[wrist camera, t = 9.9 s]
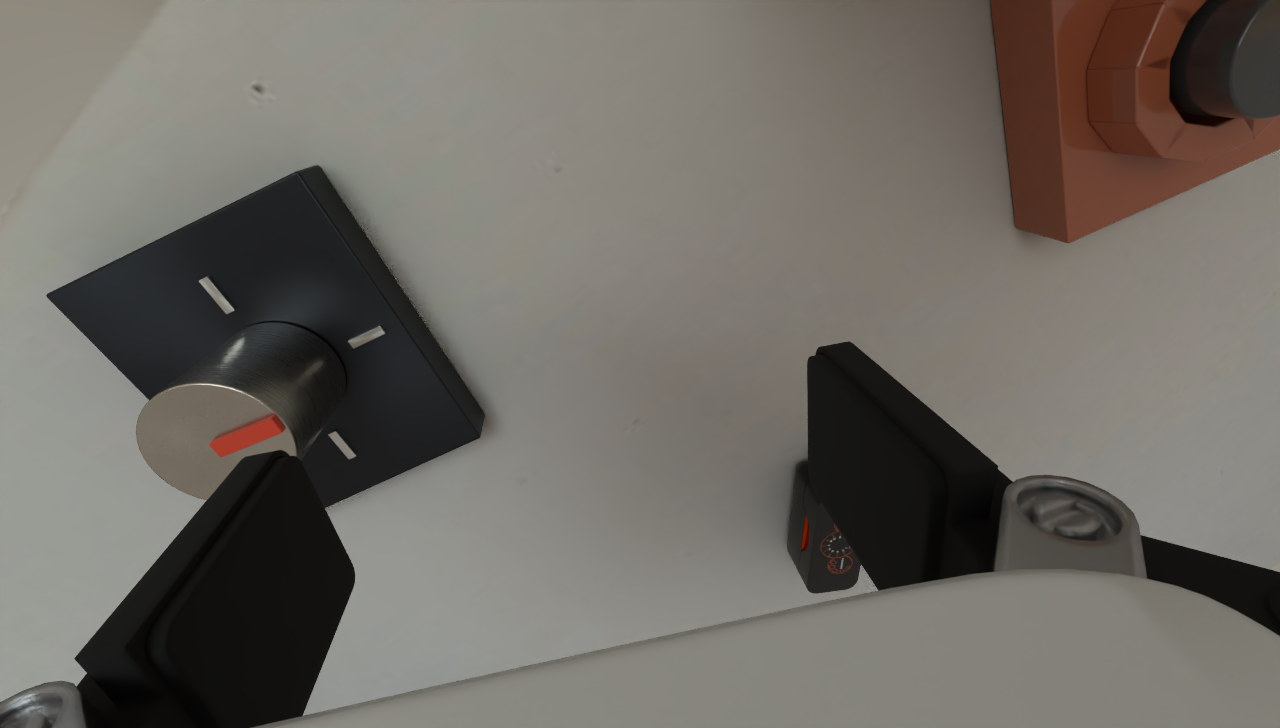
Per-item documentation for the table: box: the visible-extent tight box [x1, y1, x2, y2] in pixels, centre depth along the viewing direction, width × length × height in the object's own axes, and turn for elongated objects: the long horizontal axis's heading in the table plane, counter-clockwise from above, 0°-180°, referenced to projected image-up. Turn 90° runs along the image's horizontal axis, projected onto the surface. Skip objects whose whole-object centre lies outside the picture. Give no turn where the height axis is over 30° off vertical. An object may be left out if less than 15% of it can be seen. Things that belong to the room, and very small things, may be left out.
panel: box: [46, 165, 485, 508], centre depth 23 cm, size 12×10×2 cm
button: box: [1170, 0, 1280, 119], centre depth 18 cm, size 4×4×2 cm
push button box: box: [990, 0, 1280, 243], centre depth 21 cm, size 11×9×5 cm
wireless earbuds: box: [787, 461, 861, 593], centre depth 30 cm, size 5×7×3 cm, turn 1°
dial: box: [136, 322, 346, 500], centre depth 20 cm, size 4×4×5 cm
